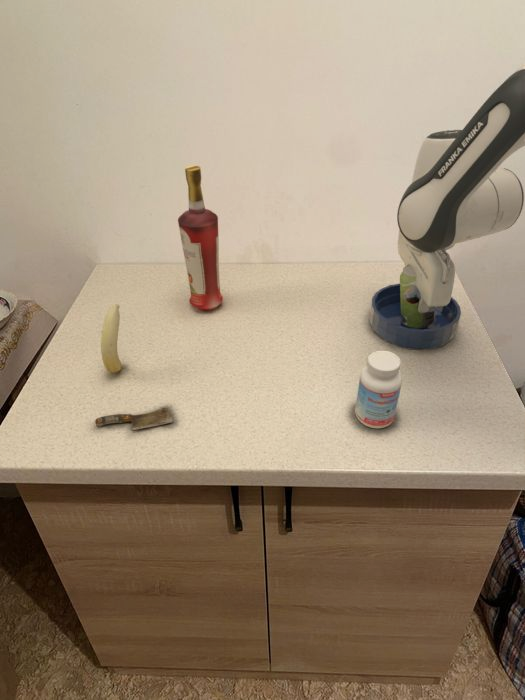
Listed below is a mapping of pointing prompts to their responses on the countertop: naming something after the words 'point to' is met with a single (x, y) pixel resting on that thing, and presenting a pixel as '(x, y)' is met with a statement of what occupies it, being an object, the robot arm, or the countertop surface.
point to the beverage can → (412, 302)
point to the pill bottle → (379, 390)
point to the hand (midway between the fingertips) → (416, 299)
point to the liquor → (200, 246)
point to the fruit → (111, 340)
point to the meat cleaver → (138, 419)
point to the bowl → (395, 332)
